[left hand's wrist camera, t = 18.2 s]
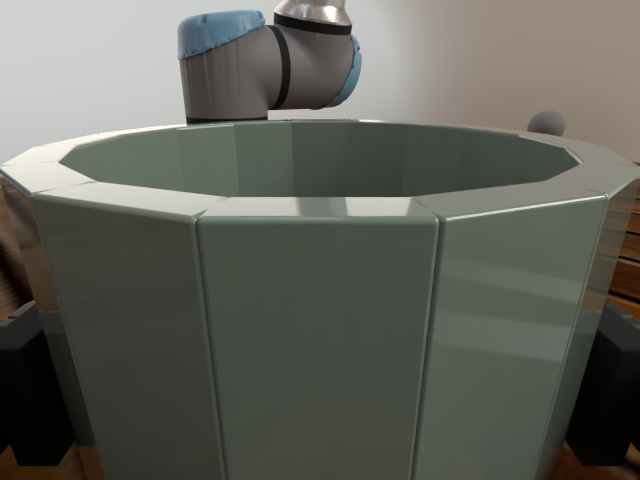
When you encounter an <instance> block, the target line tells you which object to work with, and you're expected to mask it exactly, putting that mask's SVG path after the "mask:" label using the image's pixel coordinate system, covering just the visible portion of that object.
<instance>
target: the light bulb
mask: <svg viewBox="0 0 640 480" xmlns="http://www.w3.org/2000/svg"><path fill="white" fill-rule="evenodd" d="M564 130H565V121H564V119H563V117H562V116H561V115H560V114H559V113H557V112H554V111H543V112H540V113H538V114H537V115H535V116H534V117H533V118H532V119H531V121H530V122H529V124H528V132H534V133H542V134H549V135H554V136H559V137H561V136H562V134H563V132H564Z"/></svg>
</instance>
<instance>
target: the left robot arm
mask: <svg viewBox="0 0 640 480" xmlns="http://www.w3.org/2000/svg"><path fill="white" fill-rule="evenodd" d="M75 440H76V439H75V435H74V432H73V429H72V425H71V422H70V418H69V415H68V412H67V408H66V405H65V401H64V398H63V395H62V391H61V388H60V384H59V381H58V378H57V374H56V371H55V367H54V364H53V361H52V357H51V354H50V350H49V347H48V344H47V340H46V337H45V333H44V330H43V327H42V323H41V320H40V316H39V313H38V310H37V306H36V303H35V300H34V301H31V302H29V303H27V304H25V305H23V306H22V307H21V308H19V309H18V310H17V311H15V312H14V313H13V314H11V315H10V316H9V317H8V319H5V320H3V321H2V322H1V323H0V455H1V453H2V452H3V451H4V450H5V449H6V448H7V446H8V445H9V444H10V445H11V448H12V450H13V453H14V456H15V458H16V461H17V464H18V466H58V464H59V463H60V461H61V460H62V459H63V457H64V456H65V454H66V453H67V451H68V450H69V448H70V447H71V446H72V444H73V443H74V441H75ZM565 441H566V442H567V444H568V445H569V447H570V448H571V450H572V451H573V453H574V454H575V455H576V457H577V458H578V460H579V461H580V463H581V464H582V466H622V464H623V461H624V459H625V456H626V453H627V451H628V448H629V445H630V443H632V444H633V445H634V446H635V447H636V449H637V450H638V451H639V452H640V320H638V319H637V318H633V315H631V314H630V313H629V312H627V311H626V310H625V309H623V308H622V307H620V306H619V305H618V304H616V303H614V302H612V301H610V300H608V299H606V300H605V303H604V307H603V310H602V314H601V317H600V320H599V324H598V327H597V331H596V334H595V338H594V341H593V344H592V348H591V351H590V355H589V358H588V361H587V365H586V368H585V372H584V375H583V378H582V382H581V385H580V389H579V392H578V395H577V399H576V402H575V406H574V409H573V412H572V416H571V419H570V423H569V426H568V430H567V433H566V436H565ZM638 480H640V475H639V477H638Z"/></svg>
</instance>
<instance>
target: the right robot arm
mask: <svg viewBox="0 0 640 480" xmlns="http://www.w3.org/2000/svg"><path fill="white" fill-rule="evenodd" d="M345 2H346V0H284V1H283V2H282V3H280V4H279V5H278V6H277V7H276V8H275V11H274V24H273V25H264V24H265V19H264V16H263V14H262V12H260V11H254V10H237V11H224V12H215V13H208V14H201V15H196V16H191V17H188V18H186V19H184V20H183V21H182V22H181V23H180V24H179V26H178V59H179V61H180V69H181V78H182V87H183V96H184V104H185V113H186V121H187V124H198V123H212V122H228V121H259V120H268V117H267V115H268V113H267V110H288V109H311V110H319V109H322V108H328V107H335V106H337V105H340V104H341V103H342V102H343V101H345V100H346V99H347V98H348V97H349V96H350V94H351V93H352V92H353V90H354V88H355V86H356V84H357V81H358V79H359V75H360V71H361V54H360V53H359V52H358V51H359V49H360V46H359V43H358V41H357V39H356V38H355V37H354V36H353V35H352V34H351V29H352V20H351V18H350V17H349V15H348V13H347V12H346V10H345Z"/></svg>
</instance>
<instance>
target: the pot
mask: <svg viewBox="0 0 640 480" xmlns="http://www.w3.org/2000/svg"><path fill="white" fill-rule="evenodd" d="M0 184H1V187H2V190H3V194H4V197H5V201H6V204H7V207H8V211H9V214H10V218H11V221H12V224H13V228H14V231H15V235H16V238H17V241H18V245H19V248H20V252H21V255H22V258H23V262H24V265H25V269H26V272H27V276H28V279H29V282H30V286H31V289H32V293H33V296H34V299H35V303H36V306H37V310H38V313H39V316H40V320H41V323H42V327H43V330H44V333H45V337H46V340H47V344H48V347H49V350H50V354H51V357H52V361H53V364H54V367H55V371H56V374H57V378H58V381H59V384H60V388H61V391H62V395H63V398H64V401H65V405H66V408H67V412H68V415H69V418H70V422H71V425H72V429H73V432H74V435H75V439H76V442H77V446H78V449H79V452H80V456H81V459H82V463H83V466H84V469H85V473H86V476H87V480H553V477H554V474H555V470H556V467H557V464H558V460H559V457H560V453H561V450H562V447H563V443H564V440H565V436H566V433H567V430H568V426H569V423H570V419H571V416H572V412H573V409H574V406H575V402H576V399H577V395H578V392H579V389H580V385H581V382H582V378H583V375H584V372H585V368H586V365H587V361H588V358H589V355H590V351H591V348H592V344H593V341H594V338H595V334H596V331H597V327H598V324H599V320H600V317H601V314H602V310H603V307H604V303H605V300H606V297H607V293H608V290H609V286H610V283H611V280H612V276H613V273H614V269H615V266H616V263H617V259H618V256H619V252H620V249H621V245H622V242H623V239H624V235H625V232H626V228H627V225H628V222H629V218H630V215H631V211H632V208H633V205H634V201H635V198H636V194H637V191H638V188H639V184H640V167H639V166H637V165H636V164H634V163H632V162H630V161H629V160H627V159H625V158H623V157H622V156H620V155H618V154H616V153H615V152H613V151H611V150H610V149H608V148H606V147H604V146H601V145H596V144H591V143H586V142H582V141H577V140H573V139H568V138H563V137H559V136H554V135H549V134H542V133H534V132H525V131H517V130H509V129H500V128H492V127H484V126H473V125H458V124H443V123H429V122H414V121H384V120H350V119H347V120H346V119H344V120H343V119H342V120H341V119H336V120H335V119H331V120H330V119H326V120H325V119H323V120H322V119H320V120H319V119H317V120H316V119H311V120H310V119H303V120H302V119H301V120H300V119H293V120H259V121H228V122H212V123H198V124H183V125H169V126H157V127H148V128H140V129H132V130H123V131H115V132H106V133H98V134H93V135H88V136H84V137H79V138H75V139H70V140H65V141H61V142H56V143H51V144H46V145H42V146H39V147H33V148H31V149H29V150H28V151H26V152H24V153H22V154H20V155H19V156H17V157H15V158H13V159H11V160H10V161H8V162H6V163H4V164H2V165H1V166H0Z"/></svg>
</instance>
